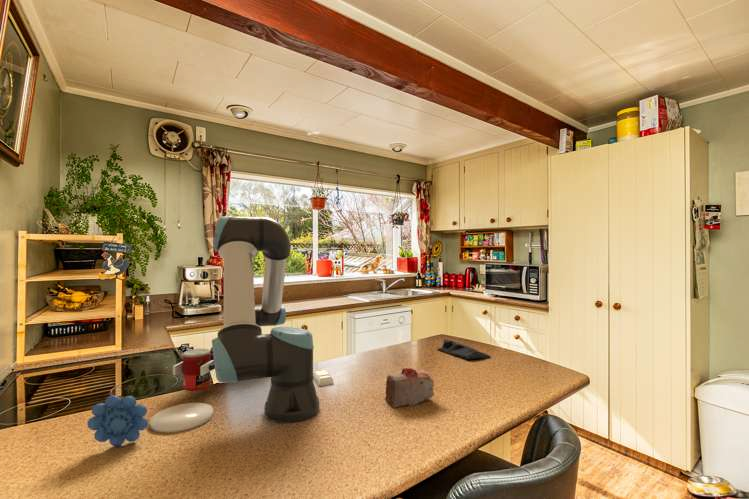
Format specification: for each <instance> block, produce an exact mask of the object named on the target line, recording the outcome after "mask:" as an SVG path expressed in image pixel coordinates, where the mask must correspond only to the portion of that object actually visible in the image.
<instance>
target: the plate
mask: <svg viewBox="0 0 749 499" xmlns="http://www.w3.org/2000/svg"><path fill="white" fill-rule="evenodd" d="M213 415H214V408H213V406H212V405H211V404H209V403H204V402H187V403H181V404H175V405H173V406H170V407H167V408H165V409H162V410H160V411H158V412H156V413H155V414H154V415H153V416H152V417H151V418H150V419H149V421H150V422H149V427H150V429H151V430H152V431H154V432H157V433H165V434H167V433H179V432H183V431H187V430H191V429H194V428H197V427H199V426H202V425H204V424H206V423H207V422H208V421H210V420H211V419H212V418H213Z"/></svg>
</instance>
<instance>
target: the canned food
mask: <svg viewBox="0 0 749 499" xmlns="http://www.w3.org/2000/svg"><path fill="white" fill-rule="evenodd" d="M210 350H211V349H208V348H195V349H189V350H186V351H184V352H183V353H182V358H183V371H182V387H183V389H184V391H187V392H198V391H201V390H203V391H204V390H206V389H207V388H209V387H210V385H211V371H210V372H208V373H206V374H205V375H203V376H200V367H201V366H202V365H204V364H206V363H208V362H210Z"/></svg>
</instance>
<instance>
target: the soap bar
mask: <svg viewBox="0 0 749 499" xmlns="http://www.w3.org/2000/svg"><path fill="white" fill-rule="evenodd" d="M313 381H315V383H317V385H318V387H324V386H328V385H329V386H330V385H334V378H332V376H331V375H330V374H329V373H328V372H327V370H318V371H313Z"/></svg>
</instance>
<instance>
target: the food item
mask: <svg viewBox="0 0 749 499" xmlns="http://www.w3.org/2000/svg"><path fill="white" fill-rule="evenodd" d="M385 382H386V384H385V386H386V387H385V397H384V400H385V402H386V403H387V404H388V405H390V406H391V407H392V408H398V407H403V406H407V405H410V406H416V405H418V404H419V403H423V402H426V401H430V399H432V398H433V397H434V394H435V392H434V383H435V382H434V379H433V378H432V377H431V376H430V374H429V373H428V372H427V371H426V370H423V369H419V370H415V369H414V368H410V367H409V368H408V367H404V368H402V370H401V372H399V373H395V374H394V373H393V374H388V375H387V376H386V381H385Z"/></svg>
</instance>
